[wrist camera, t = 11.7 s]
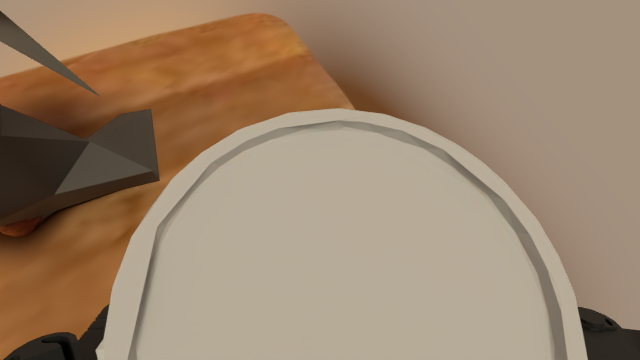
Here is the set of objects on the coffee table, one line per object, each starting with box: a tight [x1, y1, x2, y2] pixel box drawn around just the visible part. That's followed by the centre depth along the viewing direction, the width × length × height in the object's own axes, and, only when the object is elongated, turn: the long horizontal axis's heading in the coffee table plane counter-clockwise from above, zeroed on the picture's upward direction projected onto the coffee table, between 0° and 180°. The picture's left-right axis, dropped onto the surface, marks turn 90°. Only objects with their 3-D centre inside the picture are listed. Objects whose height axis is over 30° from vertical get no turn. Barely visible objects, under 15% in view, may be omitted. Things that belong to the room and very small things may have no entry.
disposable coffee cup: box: [104, 108, 588, 360], centre depth 11 cm, size 10×10×12 cm
